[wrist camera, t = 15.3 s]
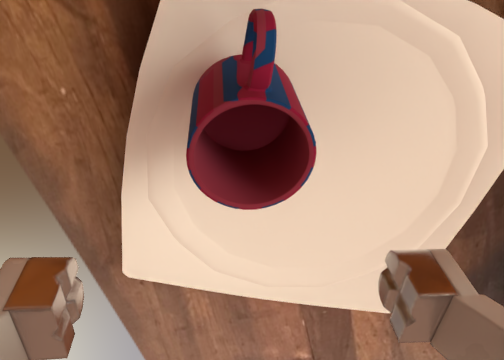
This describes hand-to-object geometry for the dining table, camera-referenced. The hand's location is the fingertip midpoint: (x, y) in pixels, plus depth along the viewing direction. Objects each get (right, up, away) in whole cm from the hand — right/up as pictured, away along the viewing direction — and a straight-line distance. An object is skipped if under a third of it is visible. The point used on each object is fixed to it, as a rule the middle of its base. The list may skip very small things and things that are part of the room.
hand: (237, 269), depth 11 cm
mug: (0, +9, +15) cm, 17 cm away
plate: (+5, +4, +22) cm, 23 cm away
